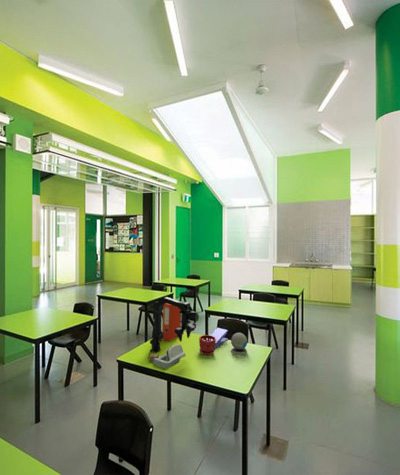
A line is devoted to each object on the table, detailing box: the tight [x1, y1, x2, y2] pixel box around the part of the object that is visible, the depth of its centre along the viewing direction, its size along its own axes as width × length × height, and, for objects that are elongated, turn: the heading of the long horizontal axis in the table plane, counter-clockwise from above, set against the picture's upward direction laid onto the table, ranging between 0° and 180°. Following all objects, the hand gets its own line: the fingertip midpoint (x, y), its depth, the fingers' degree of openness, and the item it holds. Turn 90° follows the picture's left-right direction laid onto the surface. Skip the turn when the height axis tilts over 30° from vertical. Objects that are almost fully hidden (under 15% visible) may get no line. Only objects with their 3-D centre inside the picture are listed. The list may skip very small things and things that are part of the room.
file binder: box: [161, 300, 182, 342], centre depth 249 cm, size 8×17×32 cm, turn 150°
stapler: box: [206, 327, 229, 350], centre depth 237 cm, size 12×28×10 cm, turn 149°
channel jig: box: [153, 353, 181, 370], centre depth 198 cm, size 11×16×4 cm
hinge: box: [165, 344, 186, 362], centre depth 207 cm, size 17×5×10 cm, turn 145°
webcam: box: [230, 332, 248, 356], centre depth 221 cm, size 13×13×15 cm
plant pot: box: [198, 334, 216, 356], centre depth 217 cm, size 13×13×12 cm
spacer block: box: [148, 352, 160, 363], centre depth 201 cm, size 5×5×4 cm
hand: (184, 339), depth 207 cm, fingers open, 9 cm apart
